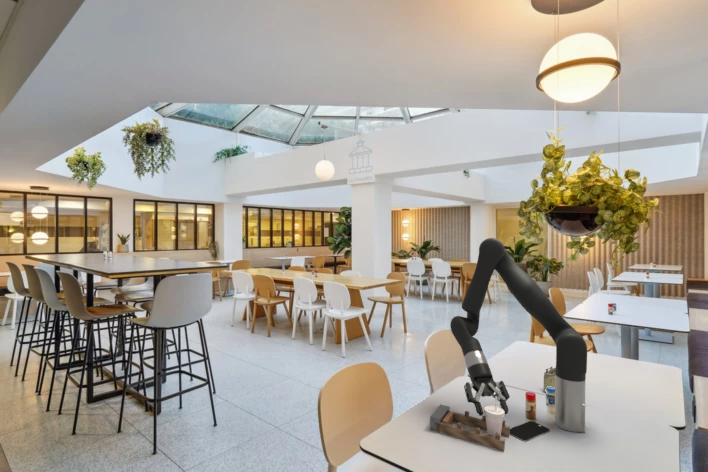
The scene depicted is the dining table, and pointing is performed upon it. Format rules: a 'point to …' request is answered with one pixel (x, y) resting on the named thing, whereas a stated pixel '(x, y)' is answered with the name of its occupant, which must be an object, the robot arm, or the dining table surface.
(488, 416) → the smoothie
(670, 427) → the dining table surface
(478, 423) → the brown pegged rack
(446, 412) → the block
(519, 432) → the smartphone
